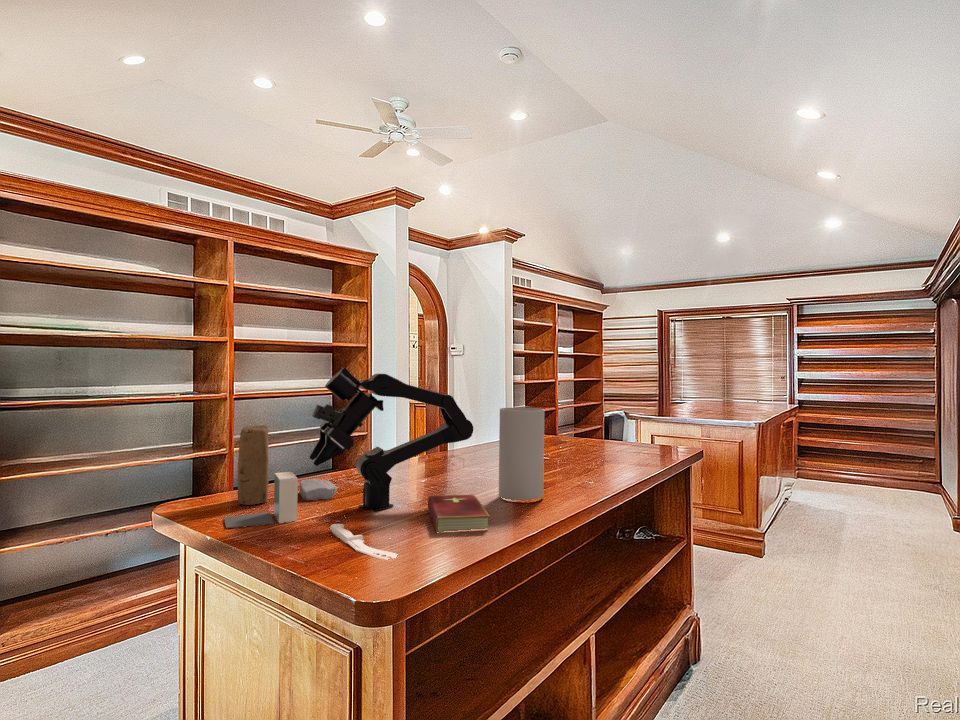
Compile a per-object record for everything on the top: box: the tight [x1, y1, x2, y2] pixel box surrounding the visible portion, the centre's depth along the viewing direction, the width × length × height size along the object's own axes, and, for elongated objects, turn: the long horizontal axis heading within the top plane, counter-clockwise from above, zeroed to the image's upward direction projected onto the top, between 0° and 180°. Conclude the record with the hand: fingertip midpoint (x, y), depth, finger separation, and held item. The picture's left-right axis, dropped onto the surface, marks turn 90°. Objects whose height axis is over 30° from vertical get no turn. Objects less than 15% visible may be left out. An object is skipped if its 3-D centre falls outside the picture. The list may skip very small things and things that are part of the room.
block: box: [237, 425, 270, 506], centre depth 145 cm, size 11×8×20 cm
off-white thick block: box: [273, 471, 299, 524], centre depth 130 cm, size 4×9×10 cm, turn 28°
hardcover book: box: [427, 494, 491, 532], centre depth 130 cm, size 12×21×4 cm, turn 10°
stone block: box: [299, 478, 338, 502], centre depth 153 cm, size 12×5×10 cm
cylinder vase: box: [498, 407, 545, 500], centre depth 153 cm, size 12×12×25 cm
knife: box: [329, 523, 399, 561], centre depth 110 cm, size 30×2×8 cm
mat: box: [223, 512, 275, 530], centre depth 126 cm, size 10×10×1 cm
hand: (312, 461), depth 134 cm, fingers open, 9 cm apart
